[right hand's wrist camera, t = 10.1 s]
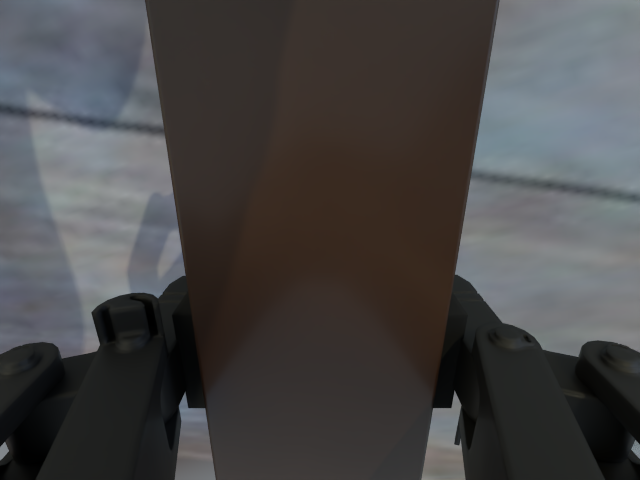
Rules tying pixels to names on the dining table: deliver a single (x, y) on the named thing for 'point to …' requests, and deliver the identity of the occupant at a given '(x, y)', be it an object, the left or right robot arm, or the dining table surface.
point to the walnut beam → (320, 218)
